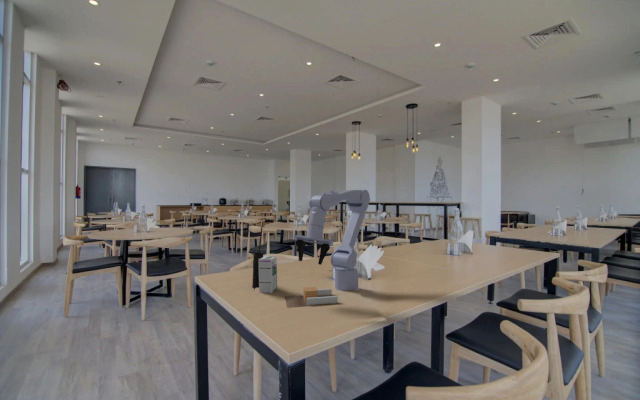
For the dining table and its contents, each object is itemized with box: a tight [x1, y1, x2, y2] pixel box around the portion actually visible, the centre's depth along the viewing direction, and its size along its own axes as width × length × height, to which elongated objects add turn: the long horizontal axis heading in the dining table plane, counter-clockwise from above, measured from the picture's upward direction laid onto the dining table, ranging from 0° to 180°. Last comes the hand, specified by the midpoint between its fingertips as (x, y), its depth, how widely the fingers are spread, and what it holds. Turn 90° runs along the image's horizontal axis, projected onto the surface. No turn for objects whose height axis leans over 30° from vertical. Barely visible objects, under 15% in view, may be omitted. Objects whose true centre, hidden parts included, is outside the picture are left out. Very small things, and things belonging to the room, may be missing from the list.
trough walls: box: [302, 288, 339, 305], centre depth 110 cm, size 11×10×2 cm
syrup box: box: [258, 255, 278, 294], centre depth 121 cm, size 6×6×14 cm
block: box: [303, 286, 318, 302], centre depth 109 cm, size 4×4×4 cm
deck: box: [284, 294, 339, 309], centre depth 109 cm, size 18×12×1 cm, turn 101°
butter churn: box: [251, 222, 264, 289], centre depth 129 cm, size 9×10×28 cm
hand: (309, 262), depth 109 cm, fingers open, 7 cm apart
